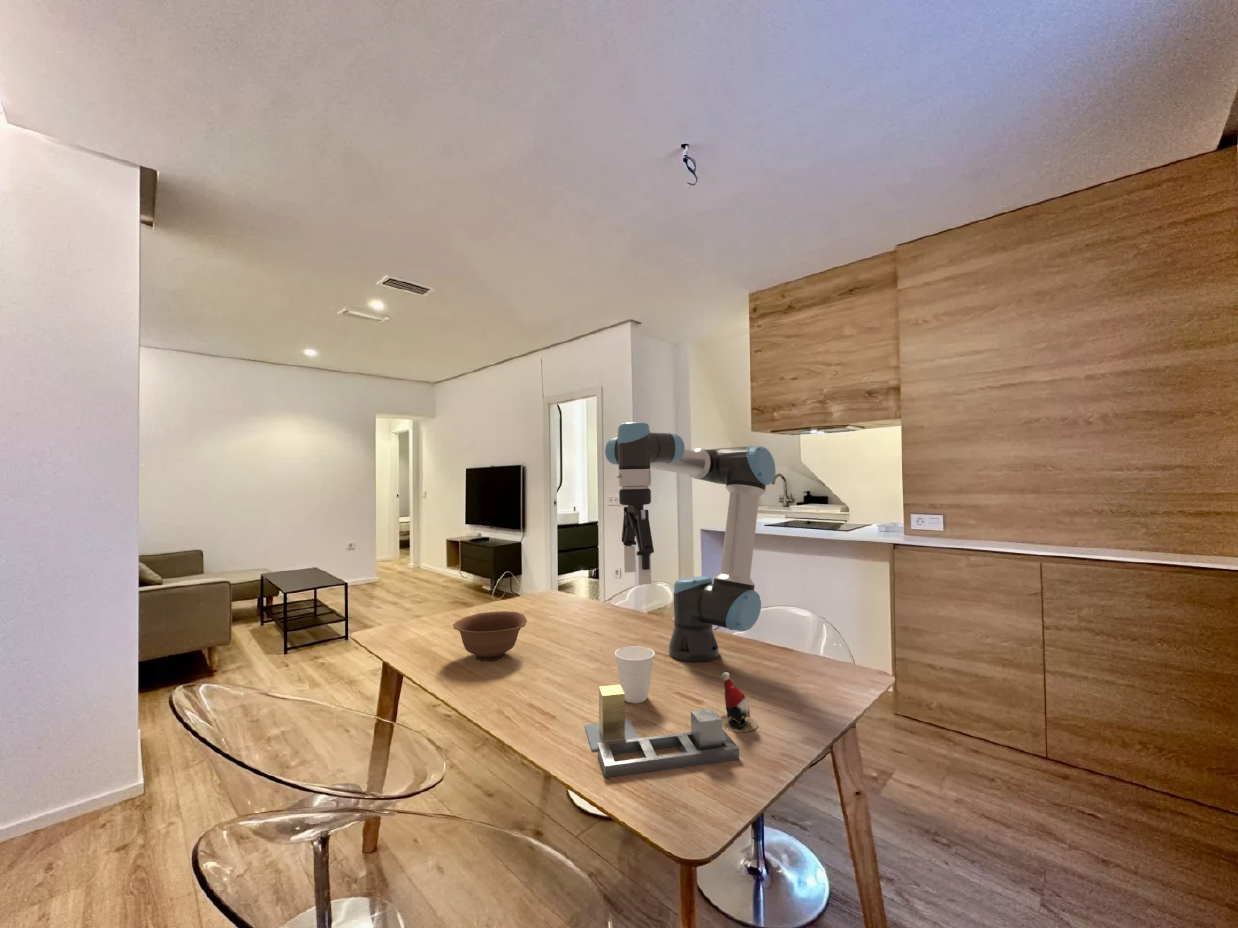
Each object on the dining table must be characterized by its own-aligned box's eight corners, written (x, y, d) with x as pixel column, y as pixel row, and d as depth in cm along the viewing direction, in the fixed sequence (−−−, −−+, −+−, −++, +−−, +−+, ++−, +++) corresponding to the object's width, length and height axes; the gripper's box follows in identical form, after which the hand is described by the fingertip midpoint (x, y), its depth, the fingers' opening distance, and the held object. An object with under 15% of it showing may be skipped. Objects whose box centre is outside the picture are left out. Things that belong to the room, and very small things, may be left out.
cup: (659, 692, 123) (659, 648, 123) (649, 710, 114) (648, 662, 114) (622, 687, 126) (622, 644, 127) (609, 704, 117) (608, 657, 117)
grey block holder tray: (722, 737, 101) (721, 727, 101) (739, 759, 93) (739, 748, 93) (597, 753, 96) (597, 742, 96) (605, 777, 88) (605, 766, 88)
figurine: (776, 709, 105) (736, 679, 103) (752, 750, 103) (710, 720, 101) (756, 694, 113) (718, 665, 111) (732, 732, 111) (694, 703, 109)
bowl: (542, 652, 153) (542, 616, 153) (488, 676, 134) (488, 635, 135) (492, 640, 165) (492, 607, 165) (436, 660, 146) (436, 623, 146)
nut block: (620, 727, 105) (619, 684, 105) (625, 738, 100) (624, 693, 101) (599, 729, 104) (598, 686, 104) (602, 740, 99) (602, 695, 100)
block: (712, 743, 99) (712, 708, 99) (722, 756, 94) (722, 719, 95) (691, 746, 98) (691, 711, 98) (700, 759, 93) (699, 721, 94)
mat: (629, 721, 108) (629, 719, 108) (641, 745, 98) (641, 743, 98) (584, 726, 106) (584, 724, 106) (591, 751, 96) (591, 749, 96)
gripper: (608, 487, 128) (610, 568, 127) (632, 489, 103) (635, 590, 103) (636, 486, 129) (638, 566, 129) (666, 488, 105) (669, 588, 104)
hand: (637, 577), depth 116 cm, fingers open, 13 cm apart
